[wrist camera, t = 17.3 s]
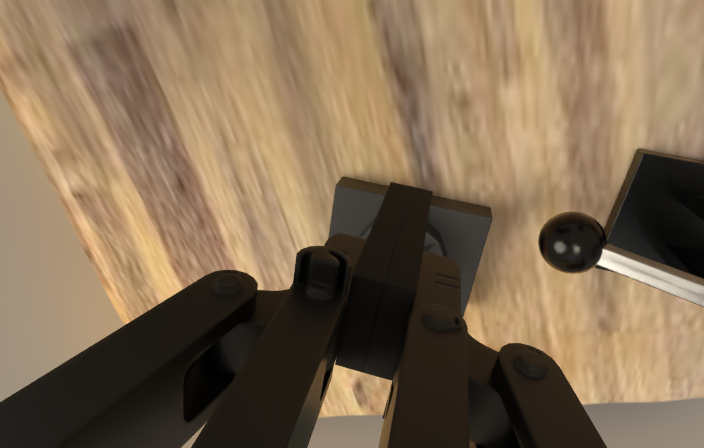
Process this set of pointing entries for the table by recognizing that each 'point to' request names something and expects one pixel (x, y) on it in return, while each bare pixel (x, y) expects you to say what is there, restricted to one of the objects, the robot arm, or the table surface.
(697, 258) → the switch bracket
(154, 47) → the table surface
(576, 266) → the switch lever
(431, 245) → the stop box
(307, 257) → the robot arm
